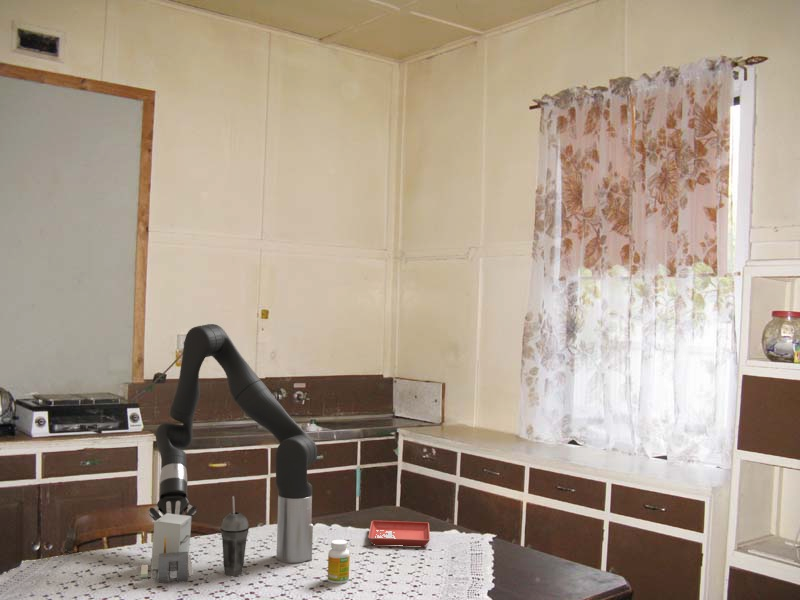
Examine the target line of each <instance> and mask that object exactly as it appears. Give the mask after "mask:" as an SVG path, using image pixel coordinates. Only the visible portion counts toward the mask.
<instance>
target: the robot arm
mask: <svg viewBox="0 0 800 600" xmlns="http://www.w3.org/2000/svg"><path fill="white" fill-rule="evenodd" d="M181 357H182V358H181V364H180V370H179V377H178V384H177V387H176V389H175V394H174V397H173V399H172V401H171V402H172V403H171V406H170V409H169V416H170V418H172V419H174V421H177V422H180V424H179V423H171V422H162V423H161V424H159V425H158V426H157V429H156V431H155V440H156V445H157V448H158V451H159V455H160V458H161V461H160V474H159V493H158V497H159V499H158V502H157V503H156V506H154V507H149V516H150V518H152V520H153V521H156V520H158V519H159V518H160V517H162V516H163V515H165V514H167V513H168V514H177V515H186V516H192V517H191V519H192V518H193V517H194V515H196V513H197V506H196V505H191V504H190V501H189V499H188V484H189V483H188V472H187V471H188V470H187V454H186V452H185V451H184V449H187V448H189V447H190V446H191V444H192V442H193V437H194V436H193V435H194V432H193V431H194V429H193V428H194V427H193V424H194V417H195V413H196V410H197V407H198V403H199V401H200V397H201V396H200V395H201V387H200V380H199V379H200V378H199V377H200V376H199V375H200V371H201V367H202V365H203V362H204V361H205V359H206V358H209V357H212V358H213V359H214V360H215V361H216V362H217V363H218V365H219V366H220V367H221V368H222V369H223V371H224V373H225V375H226V379H227V384H228V388H229V392H230V395H231V397H232V398H233V400H234V401H235V403H236V404H237V405H238V407H239V408H240V410H242V412H244V413H245V414H246V416H247V417H249V418H250V419H251V420H252V421H253V422H255V423H257V424H258V425H259V426H261V427H263V428H264V429H266V430H267V431H269V432H270V433H271V434H272V435H273V436H274V437H275V438H276V440H277V441H278V442H279V444H278V446H277V449H276V454H275V483H276V484H275V485H276V487H277V490H278V491H277V495H278V496H277V497H278V498H277V524H276V525H277V528H276V531H277V533H276V534H277V535H276V559H277V560H278V561H279V562H282V563H291V564H294V563H295V564H296V563H297V564H298V563H302V562H306V561H311V560H313V538H314V536H313V533H314V532H313V530H314V525H313V523H312V512H313V510H312V508H313V507H312V506H313V503H312V502H313V501H312V500H313V486H312V484H311V483H310V482H309V481H308V467H310V466H312V465H313V464H314V463H315V462H316V461H317V459H318V447H317V444H316V442H315V441H314V439H313V438H312V436H310V435H309V434H308V433H307V432H306V431H305V430H304V429H303V428H302V427H301V426H300V425H299V424H298V423H297V422H296V421H295V420H294V419H293V418H292V417H291V416H290V415H289V413H288V412H287V411H286V409H285V408H284V406H282V405H281V403H280V402H279V401H278V399H277V398H276V397H275V396H274V395H273V393H272V392H271V390H270V389H269V388H268V387H267V385H266V384H265V383H264V382H263V381H262V379H261V378H260V377H259V376H258V375H257V374H256V372H254V370H253V369H252V368H251V366H250V365H249V363H248V362H247V361H246V360H245V359H244V357H243V356H242V355H241V353H240V352H239V351H238V349H237V347H236V346H235V344H234V343H233V341H232V340H231V337H229V335H228V334H227V332H226V331H225V329H224V328H222V327H221V326H220V325H218V324H214V323H208V324H202V325H197V326H194V327H192V328H190V329H189V330H188V331H187V333H186V334H185V339H184V342H183V351H182V356H181ZM185 512H186V514H184V513H185ZM160 513H161V514H162V515H161V514H160Z"/></svg>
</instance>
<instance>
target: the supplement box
mask: <svg viewBox="0 0 800 600" xmlns="http://www.w3.org/2000/svg"><path fill="white" fill-rule="evenodd" d="M191 517H192V516H186V515H185V514H182V515H177V514H168V513H167V514H165V515H163V514H162V515H161V517H160V518H159V519H158V520H156V521H155V520H153V521H154V522H153V535H152V548H151V549H152V553H151V565H150V566H151V567H150V569H151V570H152V569H156V571H158V563H159V554H160V553H164V538H166V553H175V552H188V560H189V555H190V546H191V545H190V544H191V532H192V530H191V529H192V518H193V517H192V518H191Z"/></svg>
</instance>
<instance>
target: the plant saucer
mask: <svg viewBox="0 0 800 600" xmlns="http://www.w3.org/2000/svg"><path fill="white" fill-rule="evenodd" d="M376 530H379V531H378V532H377V531H376ZM380 530H384V531H380ZM386 531H392V535H394V536H395V538H396V539H394V538H386V537H384V536H382V535H383V534H385V535H386V534H387V535H388V533H385V532H386ZM393 532H395V533H393ZM430 532H431V531H430V523H429V522H426V521H425V522H423V521H422V522H421V521H400V520H399V521H397V520H395V521H394V520H372V521H371V522H370V527H369V532H368V536H367V538H368V540H369V541H370V542H371V544H372V545H373V544H375V545H403V546H421V547H420V548H424V547H425V546H426V545H427V544H428V543H429V542H430V540H431V536H430V535H431V534H430ZM380 533H381V534H380ZM376 534H377V535H379V536H380V535H381V536H382V537H383V538H377V535H376ZM375 536H376V538H375ZM392 537H393V536H392ZM375 545H374V546H375Z"/></svg>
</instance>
